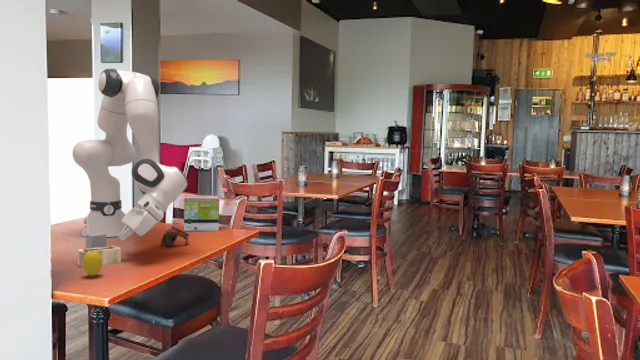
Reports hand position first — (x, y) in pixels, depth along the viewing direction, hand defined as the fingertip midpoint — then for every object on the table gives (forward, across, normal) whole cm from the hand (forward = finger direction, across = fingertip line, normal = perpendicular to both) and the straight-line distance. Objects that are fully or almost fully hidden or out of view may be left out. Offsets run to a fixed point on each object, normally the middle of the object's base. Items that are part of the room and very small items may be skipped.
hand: (120, 238), depth 171 cm
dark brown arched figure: (-10, -15, +21) cm, 28 cm away
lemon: (+13, +15, -2) cm, 20 cm away
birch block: (+4, 0, +3) cm, 5 cm away
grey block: (+10, -9, +1) cm, 13 cm away
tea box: (-25, -41, +36) cm, 60 cm away
